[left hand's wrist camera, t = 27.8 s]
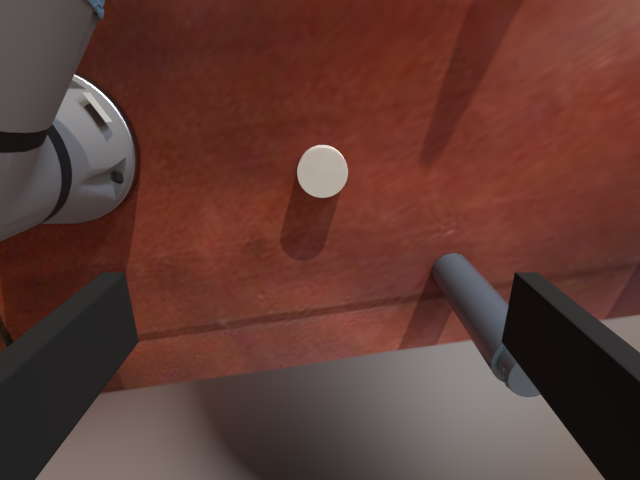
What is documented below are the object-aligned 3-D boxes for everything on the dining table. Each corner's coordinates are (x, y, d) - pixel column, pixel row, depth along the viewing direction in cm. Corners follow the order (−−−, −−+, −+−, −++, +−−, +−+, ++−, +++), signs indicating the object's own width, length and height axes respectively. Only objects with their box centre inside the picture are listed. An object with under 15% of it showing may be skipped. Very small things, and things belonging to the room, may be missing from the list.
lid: (356, 164, 40) (358, 168, 38) (326, 202, 41) (327, 207, 39) (317, 134, 39) (317, 136, 37) (288, 174, 40) (287, 178, 38)
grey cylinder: (430, 288, 45) (498, 402, 28) (433, 253, 43) (506, 352, 26) (468, 287, 45) (558, 401, 28) (472, 252, 43) (570, 350, 26)
